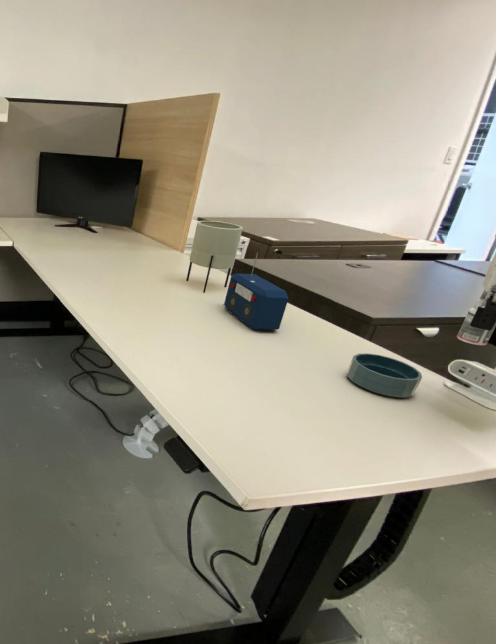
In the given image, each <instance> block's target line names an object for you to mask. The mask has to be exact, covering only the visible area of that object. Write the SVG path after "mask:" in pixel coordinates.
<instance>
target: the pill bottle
mask: <svg viewBox="0 0 496 644" xmlns="http://www.w3.org/2000/svg"><path fill="white" fill-rule="evenodd" d="M483 300H484V299H480V298H476V300H475V302H474V304H473V307H471V308H469V310H468V311H467V314H466V316H465V318H464V320H463V322H462V324H461V326H460V329H459V331H458V332H457V335H456V338H457V339H458V340H459V341H462V342H464V343H467V344H471V345H477V346H486V345H487V344H488V343H489V341H490V338H491V337H492V335H493V333H494V331H495V329H496V322H495V324H494V326H493V328H492V330H484V329H480V328H475V327H471V326H470V323H471V321H472V319H473V317H474V315H475V313H476V311H477V309H478V307H481V305H482V303H483Z"/></svg>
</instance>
